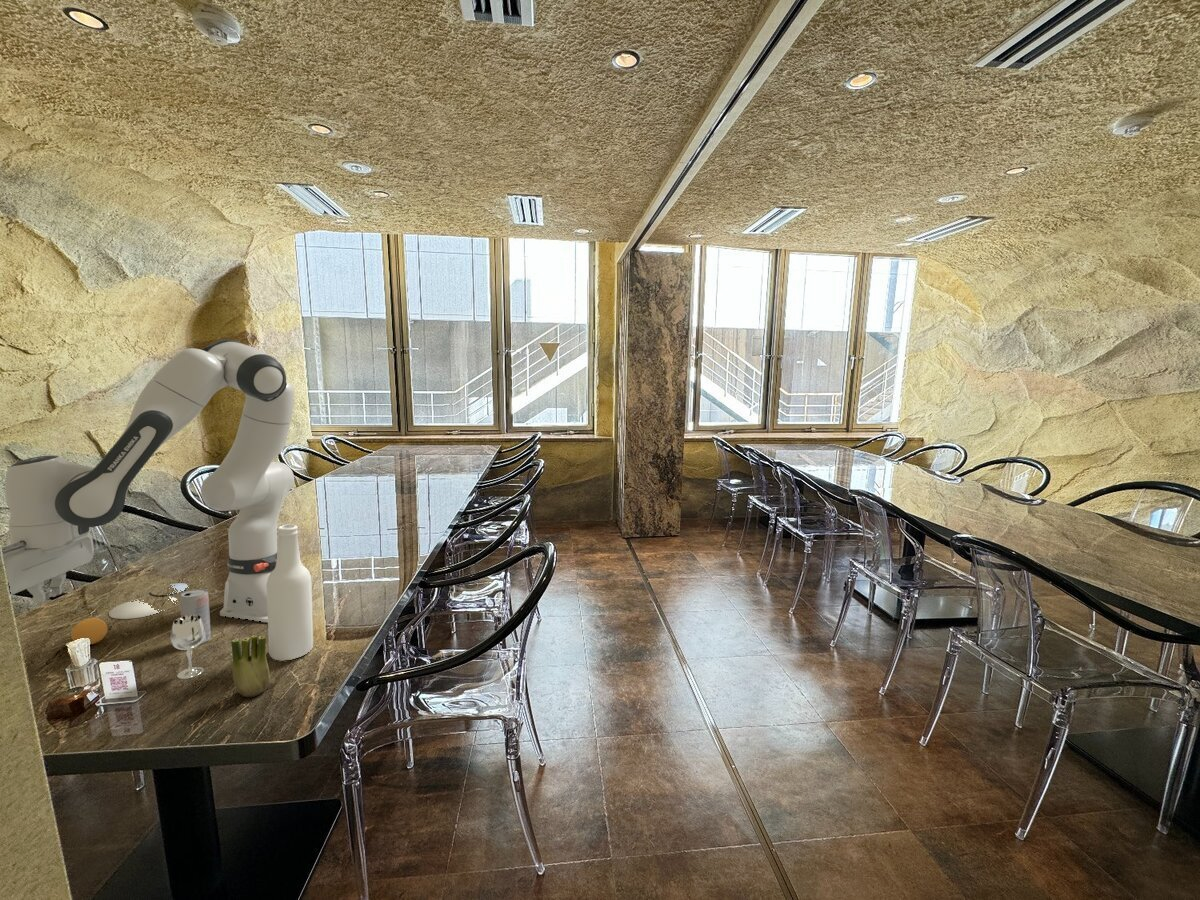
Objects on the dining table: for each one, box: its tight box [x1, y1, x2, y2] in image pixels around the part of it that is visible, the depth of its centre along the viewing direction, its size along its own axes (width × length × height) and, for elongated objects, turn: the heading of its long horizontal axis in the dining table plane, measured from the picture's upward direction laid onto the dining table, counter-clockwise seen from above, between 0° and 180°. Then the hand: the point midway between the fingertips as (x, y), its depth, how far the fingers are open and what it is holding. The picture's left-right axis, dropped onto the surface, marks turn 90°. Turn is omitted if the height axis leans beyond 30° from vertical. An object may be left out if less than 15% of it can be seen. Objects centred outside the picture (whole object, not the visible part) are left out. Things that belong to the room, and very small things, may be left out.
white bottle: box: [266, 524, 314, 662], centre depth 120 cm, size 9×9×30 cm
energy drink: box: [179, 588, 212, 646], centre depth 125 cm, size 5×5×12 cm
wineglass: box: [170, 615, 205, 680], centre depth 111 cm, size 6×6×12 cm
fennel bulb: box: [230, 634, 271, 698], centre depth 106 cm, size 6×5×12 cm
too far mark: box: [167, 582, 190, 596], centre depth 153 cm, size 9×9×1 cm
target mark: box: [108, 595, 178, 620], centre depth 141 cm, size 14×14×1 cm
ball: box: [70, 617, 108, 645], centre depth 122 cm, size 6×6×6 cm
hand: (48, 598), depth 111 cm, fingers closed
